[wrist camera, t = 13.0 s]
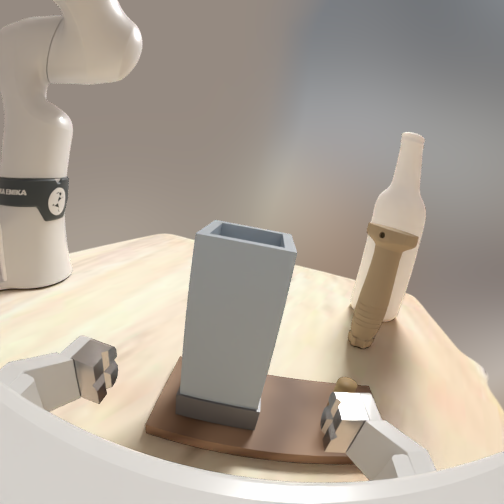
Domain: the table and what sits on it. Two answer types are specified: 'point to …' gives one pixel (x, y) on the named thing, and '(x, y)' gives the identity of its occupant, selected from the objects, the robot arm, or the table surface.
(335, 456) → the pin board
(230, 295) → the sleeve
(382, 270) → the handle
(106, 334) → the table surface
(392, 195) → the alcohol
